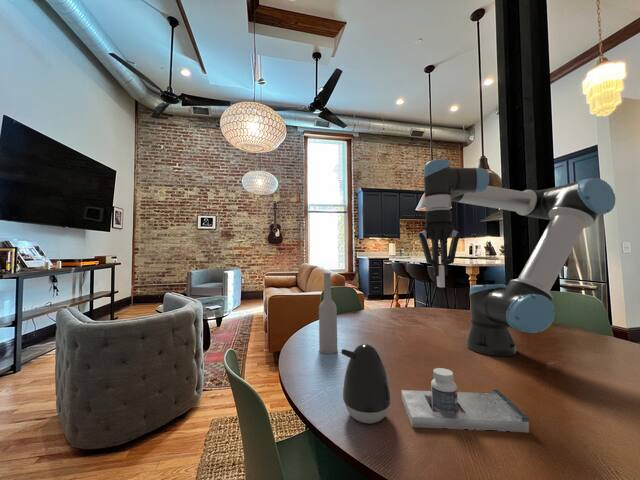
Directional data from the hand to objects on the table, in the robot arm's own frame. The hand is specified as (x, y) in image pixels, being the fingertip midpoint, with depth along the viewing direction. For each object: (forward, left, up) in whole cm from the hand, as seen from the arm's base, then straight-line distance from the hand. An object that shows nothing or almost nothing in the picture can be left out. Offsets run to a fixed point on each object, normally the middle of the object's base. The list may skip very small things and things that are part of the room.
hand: (440, 286), depth 85 cm
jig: (+5, +25, -24) cm, 35 cm away
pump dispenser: (+25, +27, -25) cm, 44 cm away
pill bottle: (+8, +25, -25) cm, 36 cm away
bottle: (+36, -13, -25) cm, 46 cm away
